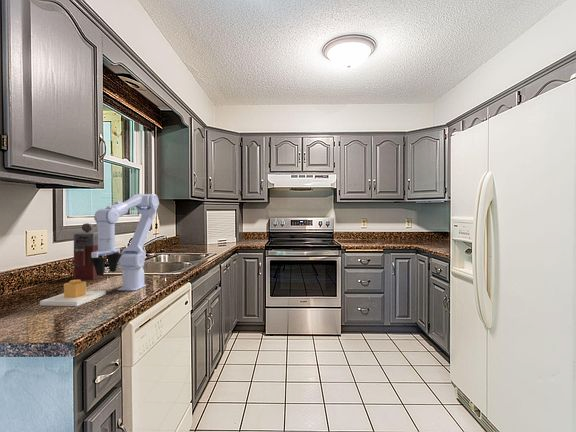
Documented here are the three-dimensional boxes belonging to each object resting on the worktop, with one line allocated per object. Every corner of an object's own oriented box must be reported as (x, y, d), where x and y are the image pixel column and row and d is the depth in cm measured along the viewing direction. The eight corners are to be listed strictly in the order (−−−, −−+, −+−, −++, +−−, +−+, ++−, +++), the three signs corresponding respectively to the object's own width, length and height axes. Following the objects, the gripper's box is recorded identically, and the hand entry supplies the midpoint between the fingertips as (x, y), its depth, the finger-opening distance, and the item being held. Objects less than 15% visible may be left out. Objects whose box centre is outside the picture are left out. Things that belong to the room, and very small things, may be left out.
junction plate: (73, 293, 128) (73, 281, 128) (105, 294, 127) (105, 282, 127) (39, 305, 112) (39, 291, 112) (77, 306, 111) (76, 292, 111)
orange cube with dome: (74, 293, 122) (74, 279, 122) (86, 294, 122) (86, 279, 122) (64, 297, 117) (64, 281, 117) (76, 297, 117) (76, 282, 117)
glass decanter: (71, 281, 150) (71, 223, 150) (81, 276, 161) (80, 223, 161) (92, 280, 152) (92, 223, 152) (100, 276, 163) (100, 223, 163)
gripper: (104, 240, 115) (104, 277, 115) (126, 237, 130) (126, 270, 130) (86, 240, 116) (86, 277, 116) (110, 237, 130) (110, 269, 130)
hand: (106, 273), depth 123 cm, fingers open, 7 cm apart
